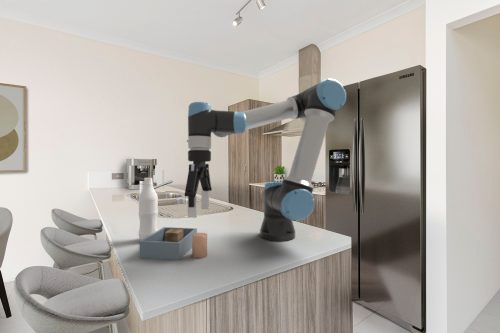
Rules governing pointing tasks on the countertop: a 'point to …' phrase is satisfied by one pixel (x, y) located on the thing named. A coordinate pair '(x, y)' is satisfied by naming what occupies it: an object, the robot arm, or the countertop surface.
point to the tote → (166, 245)
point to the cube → (174, 235)
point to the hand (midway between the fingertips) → (199, 212)
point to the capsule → (199, 245)
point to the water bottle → (148, 209)
